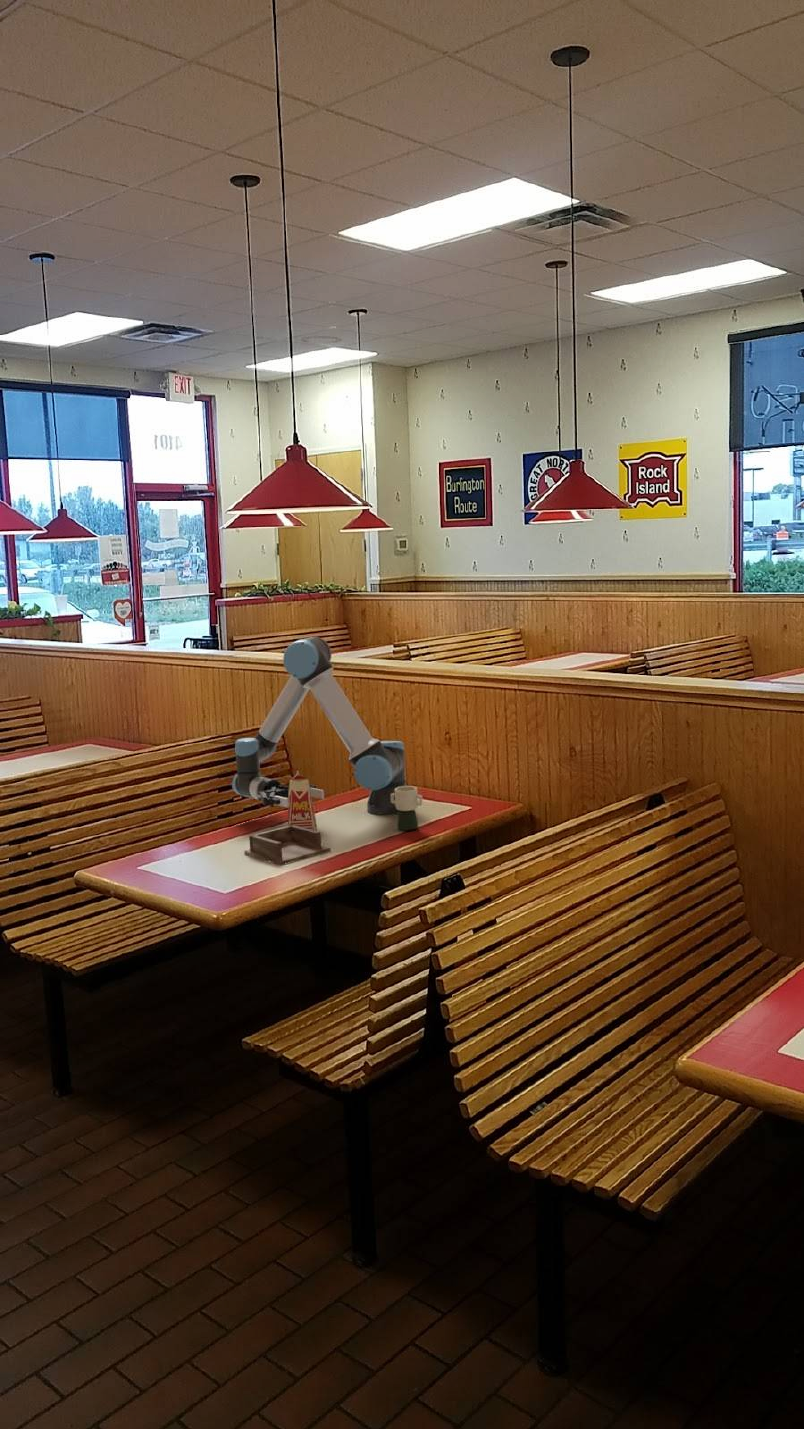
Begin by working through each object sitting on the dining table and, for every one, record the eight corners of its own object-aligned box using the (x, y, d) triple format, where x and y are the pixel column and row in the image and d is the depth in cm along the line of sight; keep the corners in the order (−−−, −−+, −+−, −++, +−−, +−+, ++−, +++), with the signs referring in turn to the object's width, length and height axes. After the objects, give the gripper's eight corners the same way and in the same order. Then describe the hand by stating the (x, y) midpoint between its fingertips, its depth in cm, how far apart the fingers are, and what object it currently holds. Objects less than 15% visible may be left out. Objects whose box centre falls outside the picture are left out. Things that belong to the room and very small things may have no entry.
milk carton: (316, 834, 342) (312, 771, 338) (287, 836, 341) (282, 773, 338) (317, 827, 351) (313, 765, 347) (288, 829, 350) (283, 767, 347)
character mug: (428, 827, 342) (426, 786, 340) (418, 833, 336) (416, 792, 334) (397, 825, 347) (395, 784, 345) (387, 831, 341) (384, 790, 339)
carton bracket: (294, 840, 335) (293, 823, 335) (330, 851, 322) (329, 832, 321) (244, 854, 324) (243, 835, 323) (280, 865, 310) (278, 846, 309)
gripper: (298, 793, 366) (337, 802, 351) (234, 808, 350) (273, 818, 334) (296, 771, 365) (336, 779, 349) (232, 785, 349) (271, 794, 333)
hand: (305, 798), depth 342 cm, fingers open, 13 cm apart
